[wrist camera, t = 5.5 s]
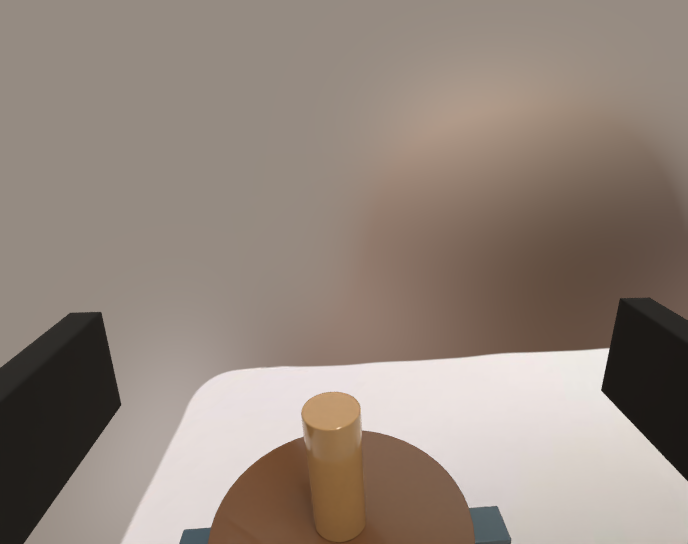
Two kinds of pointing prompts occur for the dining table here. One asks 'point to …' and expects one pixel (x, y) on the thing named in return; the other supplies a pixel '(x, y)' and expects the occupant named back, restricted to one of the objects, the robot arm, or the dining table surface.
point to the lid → (343, 489)
